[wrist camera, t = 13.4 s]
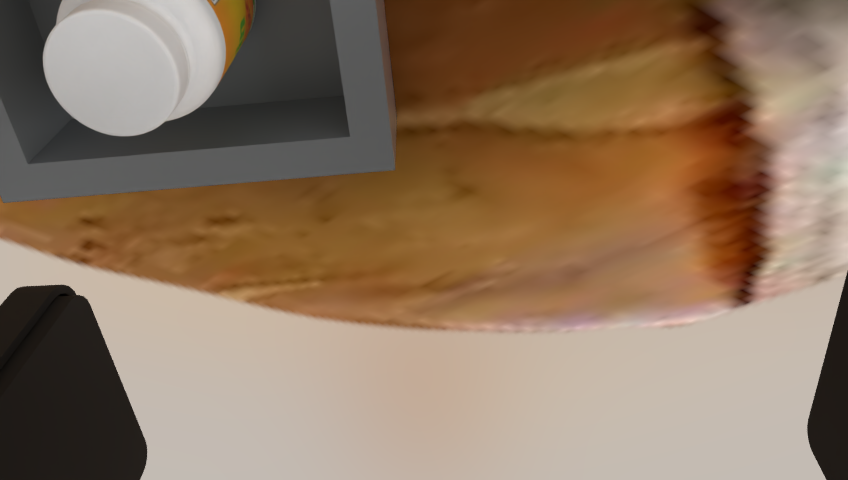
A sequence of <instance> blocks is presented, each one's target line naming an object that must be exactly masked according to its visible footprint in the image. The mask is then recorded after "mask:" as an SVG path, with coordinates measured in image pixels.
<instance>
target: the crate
mask: <svg viewBox="0 0 848 480" xmlns="http://www.w3.org/2000/svg"><path fill="white" fill-rule="evenodd" d="M61 1H62V0H0V196H1V198H2V201H3V203H7V202H19V201H31V200H43V199H55V198H67V197H79V196H91V195H103V194H115V193H127V192H139V191H151V190H163V189H175V188H187V187H199V186H211V185H223V184H235V183H247V182H259V181H271V180H283V179H295V178H307V177H319V176H331V175H343V174H355V173H367V172H379V171H391V170H395V160H396V128H397V113H396V104H395V95H394V86H393V77H392V68H391V59H390V50H389V41H388V31H387V22H386V13H385V4H384V0H256V11H255V17H254V22H253V24H252V27H251V30H250V32H249V34H248V36H247V38H246V39H245V41H244V42H243V44H242V46H241V47H240V49H239V51H238V52H237V54H236V56H235V58H234V60H233V61H232V63H231V64H230V66H229V68H228V69H227V71H226V73H225V74H224V76H223V77H222V79H221V81H220V82H219V84H218V86H217V88H216V89H215V90H214V92H213V93H212V94H211V95H210V97H209V98H208V99H207V100H206V101H205V102H204V103H203V104H202V105H201V106H200V107H198V108H197V109H196V110H194V111H193V112H191V113H189V114H187V115H185V116H183V117H180V118H177V119H174V120H170V121H165V122H164V123H163V124H161V125H160V126H159V127H157V128H155V129H154V130H152V131H149V132H147V133H144V134H140V135H135V136H113V135H108V134H104V133H101V132H98V131H95V130H93V129H91V128H89V127H87V126H85V125H84V124H82V123H80V122H79V121H78V120H76V119H75V118H73V117H72V116H71V115H70V114H69V113H68V112H67V111H66V110H65V109H64V108H63V107H62V106H61V105H60V104H59V102H58V101H57V100H56V98H55V97H54V95H53V93H52V92H51V90H50V88H49V86H48V83H47V81H46V78H45V74H44V68H43V51H44V46H45V43H46V40H47V38H48V36H49V34H50V32H51V31H52V29H53V28H54V27H55V26H56V21H57V14H58V10H59V7H60V4H61Z"/></svg>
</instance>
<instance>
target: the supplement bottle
mask: <svg viewBox="0 0 848 480" xmlns="http://www.w3.org/2000/svg"><path fill="white" fill-rule="evenodd" d="M255 11H256V0H62V1H61V4H60V7H59V10H58V14H57V21H56V26H55V27H54V28H53V29H52V31H51V32H50V34H49V36H48V38H47V40H46V43H45V46H44V51H43V68H44V74H45V78H46V81H47V83H48V86H49V88H50V90H51V92H52V93H53V95H54V97H55V98H56V100H57V101H58V102H59V104H60V105H61V106H62V107H63V108H64V109H65V110H66V111H67V112H68V113H69V114H70V115H71V116H72V117H73V118H75V119H76V120H78V121H79V122H80V123H82V124H84V125H85V126H87V127H89V128H91V129H93V130H95V131H98V132H101V133H104V134H108V135H113V136H135V135H140V134H144V133H147V132H149V131H152V130H154V129H155V128H157V127H159V126H160V125H161V124H163V123H164V122H165V121H170V120H174V119H177V118H180V117H183V116H185V115H187V114H189V113H191V112H193V111H194V110H196V109H197V108H198V107H200V106H201V105H202V104H203V103H204V102H205V101H206V100H207V99H208V98H209V97H210V95H211V94H212V93H213V92H214V90H215V89H216V88H217V86H218V84H219V82H220V81H221V79H222V77H223V76H224V74H225V73H226V71H227V69H228V68H229V66H230V64H231V63H232V61H233V60H234V58H235V56H236V54H237V52H238V51H239V49H240V47H241V46H242V44H243V42H244V41H245V39H246V38H247V36H248V34H249V32H250V30H251V27H252V24H253V22H254V17H255Z"/></svg>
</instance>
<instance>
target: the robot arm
mask: <svg viewBox="0 0 848 480" xmlns="http://www.w3.org/2000/svg"><path fill="white" fill-rule="evenodd" d="M807 426H808V427H807V428H808V439H809V443H810V447H811V450H812V452H813V454H814V456H815V458H816V460H817V462H818V464H819V466H820V468H821V470H822V472H823V474H824V476H825V478H826V480H848V272H847V276H846V279H845V283H844V287H843V291H842V295H841V298H840V302H839V306H838V309H837V313H836V317H835V321H834V325H833V328H832V332H831V336H830V340H829V343H828V348H827V351H826V355H825V359H824V363H823V366H822V370H821V374H820V377H819V381H818V385H817V389H816V393H815V396H814V400H813V404H812V408H811V411H810V415H809V419H808V425H807ZM146 460H147V445H146V442H145V438H144V437H143V434H142V431H141V429H140V426H139V424H138V422H137V420H136V416H135V414H134V412H133V409H132V407H131V404H130V402H129V399H128V397H127V394H126V392H125V390H124V387H123V384H122V382H121V380H120V377H119V375H118V372H117V370H116V367H115V365H114V362H113V360H112V358H111V355H110V353H109V350H108V348H107V345H106V343H105V340H104V338H103V336H102V333H101V330H100V328H99V326H98V323H97V321H96V318H95V316H94V313H93V311H92V308H91V306H90V304H89V302H88V300H87V299H86V298H84V297H83V296H80V295H76V293H75V291H73V289H71V288H70V287H69V286H66V285H47V286H26V287H20V288H17V289H15V290H14V291H13V292H12V293H11V294H10V295H9V296H8V297H7V299H6V300H5V301H4V302H3V303H2V304H1V306H0V480H140V478H141V476H142V474H143V471H144V468H145V465H146Z"/></svg>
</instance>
